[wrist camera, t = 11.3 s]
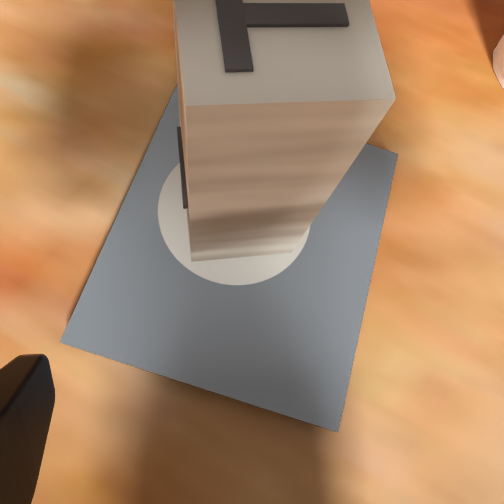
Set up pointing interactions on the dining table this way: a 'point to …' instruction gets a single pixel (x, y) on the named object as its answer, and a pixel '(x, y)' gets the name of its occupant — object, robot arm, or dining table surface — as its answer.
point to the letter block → (271, 115)
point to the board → (236, 292)
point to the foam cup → (499, 61)
